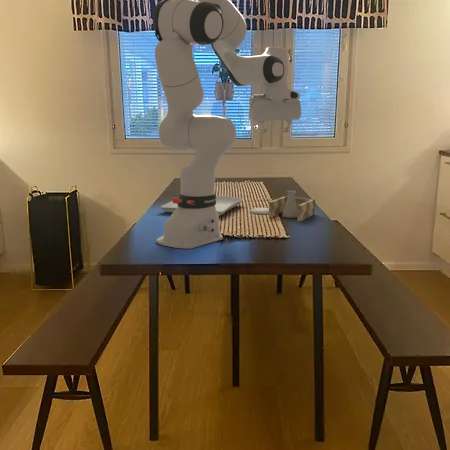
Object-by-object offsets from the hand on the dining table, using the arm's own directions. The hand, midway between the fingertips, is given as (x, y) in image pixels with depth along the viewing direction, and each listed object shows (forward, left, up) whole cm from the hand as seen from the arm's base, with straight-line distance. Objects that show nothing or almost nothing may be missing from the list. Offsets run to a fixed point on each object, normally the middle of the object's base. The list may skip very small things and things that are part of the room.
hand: (274, 132), depth 172 cm
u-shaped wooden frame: (+6, -6, -32) cm, 33 cm away
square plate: (-3, +30, -33) cm, 45 cm away
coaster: (+6, +7, -32) cm, 33 cm away
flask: (+5, -6, -32) cm, 33 cm away
